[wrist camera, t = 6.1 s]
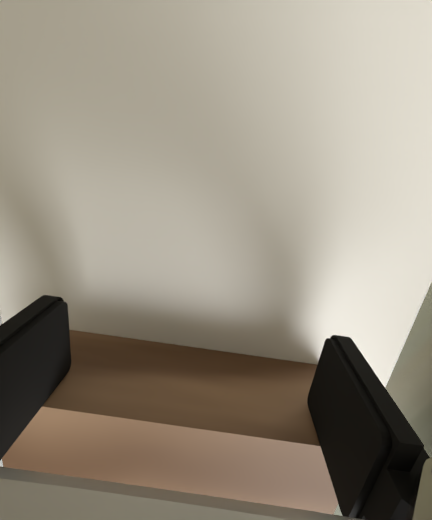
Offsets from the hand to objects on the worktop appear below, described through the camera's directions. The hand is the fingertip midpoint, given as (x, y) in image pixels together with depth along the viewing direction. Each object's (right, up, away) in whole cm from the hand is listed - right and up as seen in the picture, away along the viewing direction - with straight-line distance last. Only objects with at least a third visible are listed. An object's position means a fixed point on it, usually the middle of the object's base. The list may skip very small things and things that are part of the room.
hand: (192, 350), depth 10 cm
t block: (-1, -6, +5) cm, 8 cm away
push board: (0, -1, +3) cm, 3 cm away
